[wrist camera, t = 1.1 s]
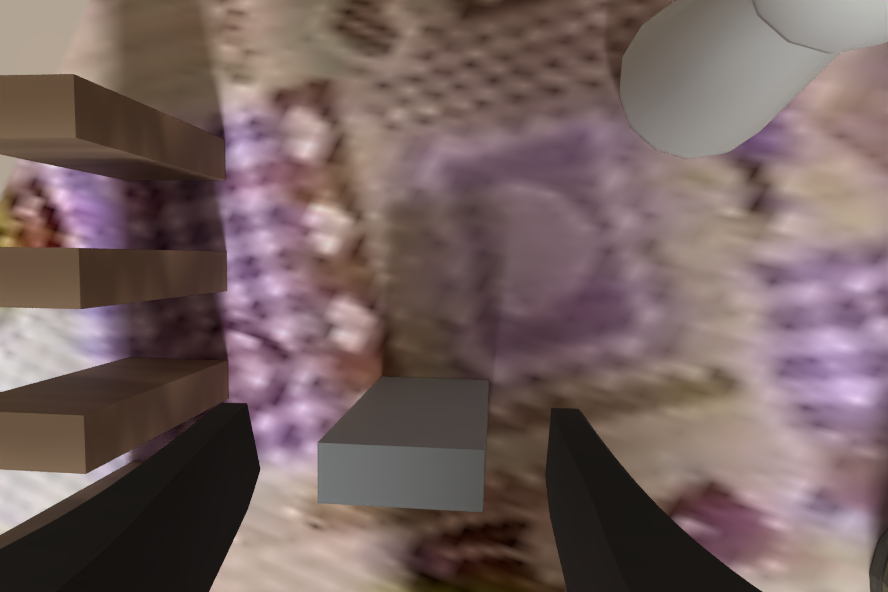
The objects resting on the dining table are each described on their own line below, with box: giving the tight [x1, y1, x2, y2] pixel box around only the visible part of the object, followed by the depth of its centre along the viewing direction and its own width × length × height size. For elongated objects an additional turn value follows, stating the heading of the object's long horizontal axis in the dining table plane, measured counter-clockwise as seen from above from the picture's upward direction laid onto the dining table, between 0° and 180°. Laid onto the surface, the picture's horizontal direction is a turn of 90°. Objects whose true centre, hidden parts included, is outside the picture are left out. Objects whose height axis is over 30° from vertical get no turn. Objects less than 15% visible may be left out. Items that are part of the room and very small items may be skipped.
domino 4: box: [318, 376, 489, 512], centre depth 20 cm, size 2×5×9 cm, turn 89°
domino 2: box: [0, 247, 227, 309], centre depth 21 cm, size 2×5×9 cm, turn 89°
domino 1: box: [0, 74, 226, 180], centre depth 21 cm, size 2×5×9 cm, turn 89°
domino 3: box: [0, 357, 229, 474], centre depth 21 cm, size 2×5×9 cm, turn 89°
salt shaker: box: [619, 0, 888, 159], centre depth 17 cm, size 6×6×13 cm
